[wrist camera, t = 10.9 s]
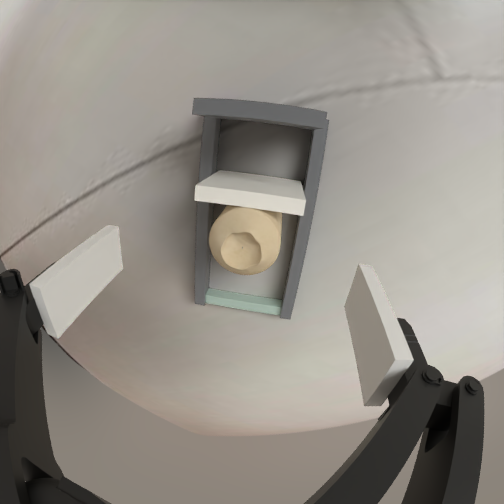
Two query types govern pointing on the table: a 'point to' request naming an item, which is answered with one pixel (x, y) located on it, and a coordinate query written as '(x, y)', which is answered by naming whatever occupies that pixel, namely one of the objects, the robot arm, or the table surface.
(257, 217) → the candle
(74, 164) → the table surface
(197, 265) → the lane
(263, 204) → the plate
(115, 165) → the table surface
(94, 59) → the table surface
